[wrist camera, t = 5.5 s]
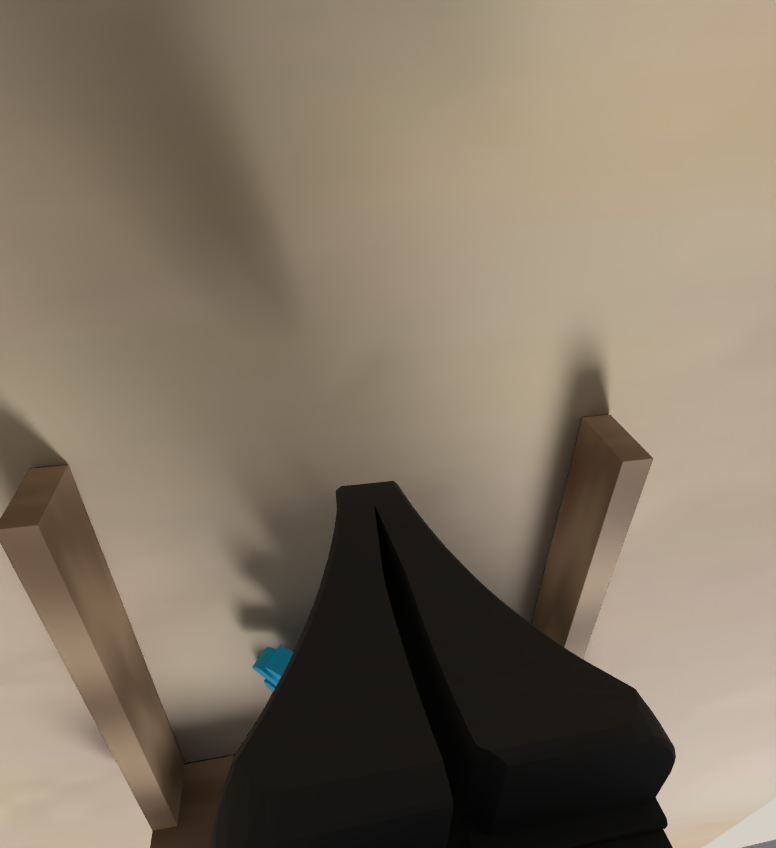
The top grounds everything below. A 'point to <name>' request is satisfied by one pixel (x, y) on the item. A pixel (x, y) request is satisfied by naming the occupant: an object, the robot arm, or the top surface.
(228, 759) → the wooden u-shaped frame
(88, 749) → the top surface
